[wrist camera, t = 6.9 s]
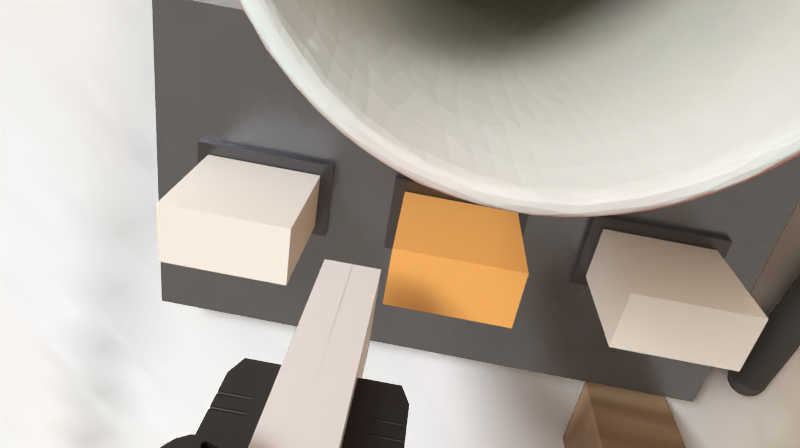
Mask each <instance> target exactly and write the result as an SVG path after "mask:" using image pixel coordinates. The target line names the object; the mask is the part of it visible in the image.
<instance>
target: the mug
mask: <svg viewBox="0 0 800 448" xmlns="http://www.w3.org/2000/svg"><path fill="white" fill-rule="evenodd" d="M238 1H239V3H240V5H241V7H242V9H243V10H244V12H245V13H246V15H247V16H248V18H249V20H250V21H251V23H252V25H253V26H254V28H255V30H256V32H257V34H258V35H259V37H260V39H261V41H262V43H263V44H264V46H265V48H266V49H267V51H268V52H269V53H270V55H271V56H272V57H273V58H274V60H275V61H276V62H277V64H278V65H279V66H280V67H281V69H282V70H283V71H284V73H285V74H286V75H287V77H288V78H289V79H290V80H291V82H292V83H293V84H294V86H295V87H296V88H297V89H298V90H299V91H300V92H301V93H302V94H303V95H304V97H305V98H306V99H307V100H308V101H309V102H310V103H311V104H312V105H313V106H314V107H315V109H316V110H317V111H319V112H320V113H321V114H322V115H323V116H324V117H325V118H326V119H327V120H328V121H329V122H330V123H331V124H333V125H334V126H335V127H336V128H337V129H338V130H339V131H340V132H341V133H343V134H344V135H345V136H346V137H348V138H349V139H350V140H352V141H353V142H354V143H355V144H357V145H358V146H359V147H360V148H362V149H363V150H365V151H366V152H368V153H369V154H371V155H372V156H373V157H375V158H376V159H378V160H379V161H381V162H382V163H384V164H386V165H387V166H389V167H391V168H393V169H394V170H396V171H398V172H400V173H401V174H403V175H405V176H407V177H408V178H410V179H412V180H414V181H415V182H417V183H419V184H421V185H424V186H426V187H429V188H431V189H434V190H436V191H439V192H441V193H443V194H446V195H449V196H453V197H457V198H460V199H464V200H467V201H470V202H473V203H476V204H479V205H483V206H486V207H490V208H494V209H499V210H506V211H512V212H518V213H525V214H531V215H539V216H551V217H592V216H607V215H619V214H626V213H633V212H641V211H648V210H654V209H659V208H664V207H669V206H673V205H678V204H682V203H685V202H689V201H692V200H695V199H698V198H701V197H704V196H707V195H710V194H713V193H716V192H718V191H721V190H724V189H726V188H729V187H732V186H734V185H737V184H740V183H743V182H745V181H747V180H750V179H752V178H754V177H756V176H758V175H761V174H763V173H765V172H767V171H769V170H772V169H774V168H776V167H777V166H779V165H781V164H783V163H785V162H787V161H789V160H791V159H793V158H795V157H796V156H798V155H800V0H238Z"/></svg>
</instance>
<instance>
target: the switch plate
mask: <svg viewBox="0 0 800 448" xmlns="http://www.w3.org/2000/svg"><path fill="white" fill-rule="evenodd" d="M152 9H153V40H154V70H155V100H156V131H157V161H158V191H159V200H160V199H161V198H162V197H164V196H165V195H166V194H167V193H168V192H169V191H170V190H171V189H172V188H173V187H174V186H175V185H176V184H177V183H178V182H180V181H181V180H182V179H183V178H184V177H185V176H186V175H187V174H188V173H189V172H190V171H191V170H192V169H193V168H194V167H196V166H197V165H198V164H199V163H200V162H201V161H202V160H203V159H204V158H205V157H206V156H207V155H213V156H218V157H224V158H229V159H234V160H240V161H245V162H250V163H256V164H261V165H266V166H272V167H277V168H282V169H288V170H293V171H298V172H304V173H309V174H314V175H320V185H319V194H318V203H317V213H316V222H315V227H314V229H313V231H312V233H311V235H310V237H309V239H308V241H307V243H306V245H305V248H304V250H303V252H302V254H301V256H300V258H299V260H298V262H297V264H296V266H295V268H294V270H293V272H292V275H291V277H290V279H289V281H288V283H287V285H280V284H275V283H270V282H265V281H259V280H254V279H249V278H244V277H238V276H233V275H228V274H222V273H217V272H212V271H207V270H201V269H196V268H191V267H186V266H180V265H175V264H170V263H165V262H161V283H162V301H168V302H173V303H178V304H183V305H189V306H194V307H199V308H204V309H210V310H215V311H220V312H225V313H230V314H236V315H241V316H246V317H251V318H257V319H262V320H267V321H272V322H278V323H283V324H288V325H293V326H298V324H299V321H300V319H301V316H302V314H303V311H304V309H305V306H306V304H307V301H308V299H309V296H310V294H311V292H312V289H313V287H314V284H315V282H316V279H317V277H318V274H319V272H320V269H321V267H322V264H323V262H324V260H325V259H327V260H332V261H338V262H343V263H349V264H354V265H360V266H365V267H370V268H376V269H381V274H380V280H379V286H378V292H377V298H376V305H375V311H374V317H373V323H372V329H371V335H370V340H372V341H377V342H383V343H388V344H393V345H398V346H403V347H409V348H414V349H419V350H424V351H430V352H435V353H440V354H445V355H451V356H456V357H461V358H466V359H472V360H477V361H482V362H487V363H493V364H498V365H503V366H508V367H514V368H519V369H524V370H529V371H535V372H540V373H545V374H550V375H556V376H561V377H566V378H571V379H576V380H582V381H587V382H592V383H597V384H603V385H608V386H613V387H618V388H624V389H629V390H634V391H639V392H645V393H650V394H655V395H660V396H666V397H671V398H676V399H681V400H687V401H692V402H693V400H694V399H695V397H696V395H697V393H698V391H699V389H700V387H701V385H702V383H703V382H704V380H705V378H706V376H707V374H708V372H709V370H710V368H711V366H707V365H701V364H696V363H691V362H686V361H680V360H675V359H670V358H665V357H659V356H654V355H649V354H644V353H638V352H633V351H628V350H623V349H617V348H612V347H609V345H608V342H607V339H606V336H605V333H604V330H603V327H602V324H601V321H600V318H599V315H598V312H597V309H596V306H595V303H594V300H593V297H592V294H591V291H590V288H589V285H588V282H587V279H586V274H587V272H588V269H589V266H590V264H591V261H592V258H593V255H594V253H595V250H596V247H597V244H598V242H599V239H600V236H601V233H602V231H603V229H607V230H613V231H618V232H623V233H629V234H634V235H639V236H645V237H650V238H655V239H661V240H666V241H671V242H677V243H682V244H687V245H692V246H698V247H703V248H708V249H714V250H717V251H718V252H719V253H720V255H721V256H722V257H723V259H724V260H725V261H726V263H727V264H728V265H729V267H730V268H731V269H732V271H733V272H734V273H735V275H736V276H737V277H738V279H739V280H740V281H741V283H742V284H743V285H744V287H745V288H746V289H747V291H748V292H749V293H750V292H751V291H752V289H753V287H754V285H755V283H756V281H757V279H758V277H759V275H760V273H761V272H762V270H763V268H764V266H765V264H766V262H767V260H768V258H769V256H770V255H771V253H772V251H773V249H774V247H775V245H776V243H777V241H778V239H779V237H780V236H781V234H782V232H783V230H784V228H785V226H786V224H787V222H788V220H789V219H790V217H791V215H792V213H793V211H794V209H795V207H796V205H797V203H798V201H799V200H800V155H798V156H796V157H795V158H793V159H791V160H789V161H787V162H785V163H783V164H781V165H779V166H777V167H776V168H774V169H772V170H769V171H767V172H765V173H763V174H761V175H758V176H756V177H754V178H752V179H750V180H747V181H745V182H743V183H740V184H737V185H734V186H732V187H729V188H726V189H724V190H721V191H718V192H716V193H713V194H710V195H707V196H704V197H701V198H698V199H695V200H692V201H689V202H685V203H682V204H678V205H673V206H669V207H664V208H659V209H654V210H648V211H641V212H633V213H626V214H619V215H607V216H592V217H551V216H539V215H531V214H525V213H518V212H517V213H518V215H519V221H520V227H521V233H522V238H523V244H524V250H525V255H526V261H527V267H528V273H529V275H528V278H527V281H526V284H525V287H524V291H523V294H522V297H521V300H520V303H519V307H518V310H517V313H516V316H515V320H514V323H513V326H512V328H507V327H501V326H496V325H491V324H486V323H480V322H475V321H470V320H465V319H459V318H454V317H449V316H444V315H438V314H433V313H428V312H423V311H417V310H412V309H407V308H401V307H396V306H391V305H386V304H383V299H384V293H385V288H386V282H387V277H388V271H389V265H390V260H391V254H392V249H393V244H394V239H395V235H396V230H397V226H398V221H399V216H400V212H401V207H402V203H403V198H404V194H405V192H410V193H415V194H421V195H426V196H431V197H437V198H442V199H447V200H453V201H458V202H463V203H469V204H474V205H479V204H476V203H473V202H470V201H467V200H464V199H460V198H457V197H453V196H449V195H446V194H443V193H441V192H439V191H436V190H434V189H431V188H429V187H426V186H424V185H421V184H419V183H417V182H415V181H414V180H412V179H410V178H408V177H407V176H405V175H403V174H401V173H400V172H398V171H396V170H394V169H393V168H391V167H389V166H387V165H386V164H384V163H382V162H381V161H379V160H378V159H376V158H375V157H373V156H372V155H371V154H369V153H368V152H366V151H365V150H363V149H362V148H360V147H359V146H358V145H357V144H355V143H354V142H353V141H352V140H350V139H349V138H348V137H346V136H345V135H344V134H343V133H341V132H340V131H339V130H338V129H337V128H336V127H335V126H334V125H333V124H331V123H330V122H329V121H328V120H327V119H326V118H325V117H324V116H323V115H322V114H321V113H320V112H319V111H317V110H316V109H315V107H314V106H313V105H312V104H311V103H310V102H309V101H308V100H307V99H306V98H305V97H304V95H303V94H302V93H301V92H300V91H299V90H298V89H297V88H296V87H295V86H294V84H293V83H292V82H291V80H290V79H289V78H288V77H287V75H286V74H285V73H284V71H283V70H282V69H281V67H280V66H279V65H278V64H277V62H276V61H275V60H274V58H273V57H272V56H271V55H270V53H269V52H268V51H267V49H266V48H265V46H264V44H263V43H262V41H261V39H260V37H259V35H258V34H257V32H256V30H255V28H254V26H253V25H252V23H251V21H250V20H249V18H248V16H247V15H246V13H245V12H244V10H243V9H242V7H241V5H240V3H239V1H238V0H152ZM479 206H483V205H479ZM485 207H486V206H485ZM511 212H512V211H511Z"/></svg>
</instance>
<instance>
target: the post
mask: <svg viewBox="0 0 800 448" xmlns="http://www.w3.org/2000/svg"><path fill="white" fill-rule="evenodd" d="M563 441H564V446H565V448H686V447H685V445H684V443H683V440H682V438H681V435H680V433H679V430H678V428H677V426H676V423H675V421H674V418H673V416H672V413H671V411H670V409H669V406H668V404H667V401H666V399H665V397H664V396H659V395H653V394H648V393H643V392H638V391H632V390H627V389H622V388H617V387H611V386H606V385H601V384H596V383H591V382H585V385H584V387H583V389H582V392H581V394H580V397H579V399H578V402H577V404H576V407H575V409H574V412H573V414H572V417H571V419H570V422H569V424H568V427H567V429H566V432H565V434H564V436H563Z"/></svg>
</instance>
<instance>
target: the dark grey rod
mask: <svg viewBox="0 0 800 448" xmlns="http://www.w3.org/2000/svg"><path fill="white" fill-rule="evenodd" d="M768 319H769V320H768V321H767V323H766V325H765V327H764V328H763V330H762V332H761V334H760V336H759V337H758V339H757V341H756V343H755V345H754V346H753V348H752V350H751V352H750V353H749V355H748V357H747V359H746V361H745V362H744V364H743V366H742V368H741V370H740V371H739V372H738V371H733V370H729V371H728V382H729V384H730V386H731V387H732V388H733V389H734V390H735V391H736V392H738V393H739V394H742V395H745V396H754V395H758V394H759V393H761V392H762V391H763V390H764V389H765V388H766V387H767V385H768V384H769V383H770V382H771V380H772V379H773V378H774V377H775V375H776V374H777V373H778V372H779V371H780V369H781V368H782V367H783V366H784V364H785V363H786V362H787V361H788V359H789V358H790V357H791V356H792V355H793V353H794V352H795V351H796V350H797V348H798V347H799V346H800V276H799V277H798V279H797V280H796V281H795V283H794V284H793V285H792V287H791V288H790V289H789V291H788V292H787V293H786V295H785V296H784V297H783V299H782V300H781V301H780V303H779V304H778V305H777V307H776V308H775V309H774V310H773V312H772V313H771V314H770V316H769V317H768Z"/></svg>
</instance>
